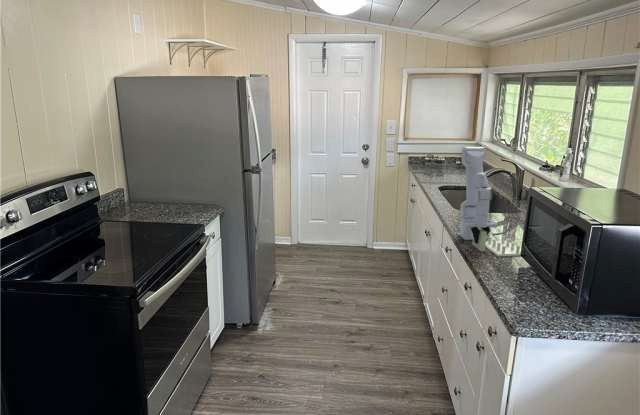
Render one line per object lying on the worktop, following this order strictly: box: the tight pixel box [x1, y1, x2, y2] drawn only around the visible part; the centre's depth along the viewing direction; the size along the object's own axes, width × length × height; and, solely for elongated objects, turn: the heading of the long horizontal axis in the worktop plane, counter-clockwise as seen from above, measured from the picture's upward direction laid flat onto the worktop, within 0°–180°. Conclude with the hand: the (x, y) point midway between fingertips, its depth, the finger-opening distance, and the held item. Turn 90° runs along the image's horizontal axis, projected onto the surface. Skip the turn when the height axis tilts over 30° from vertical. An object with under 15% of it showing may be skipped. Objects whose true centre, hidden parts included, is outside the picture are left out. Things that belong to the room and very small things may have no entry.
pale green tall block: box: [471, 228, 488, 252], centre depth 199 cm, size 2×9×9 cm, turn 4°
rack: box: [485, 235, 522, 257], centre depth 197 cm, size 17×13×4 cm
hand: (479, 242), depth 199 cm, fingers open, 2 cm apart
